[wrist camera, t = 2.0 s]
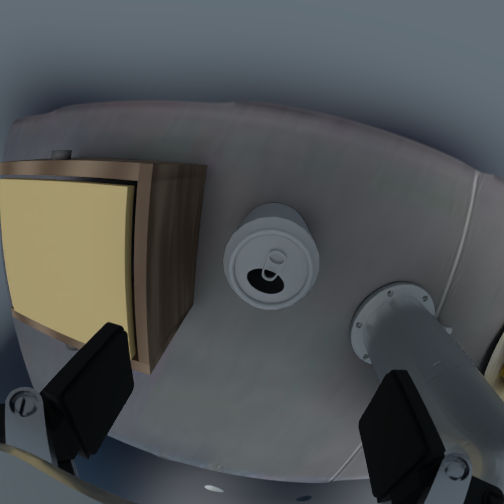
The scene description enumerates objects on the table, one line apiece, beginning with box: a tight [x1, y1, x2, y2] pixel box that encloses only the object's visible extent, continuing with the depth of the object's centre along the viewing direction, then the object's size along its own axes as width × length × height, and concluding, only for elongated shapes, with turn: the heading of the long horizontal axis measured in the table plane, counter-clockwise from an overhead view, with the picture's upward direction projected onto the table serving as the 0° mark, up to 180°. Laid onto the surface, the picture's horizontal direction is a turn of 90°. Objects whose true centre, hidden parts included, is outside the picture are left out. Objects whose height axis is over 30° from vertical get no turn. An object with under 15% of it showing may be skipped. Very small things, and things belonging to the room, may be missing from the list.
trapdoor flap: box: [0, 178, 136, 360], centre depth 19 cm, size 16×14×1 cm
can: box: [223, 203, 319, 310], centre depth 26 cm, size 8×8×12 cm
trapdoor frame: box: [0, 150, 207, 375], centre depth 26 cm, size 19×19×14 cm
